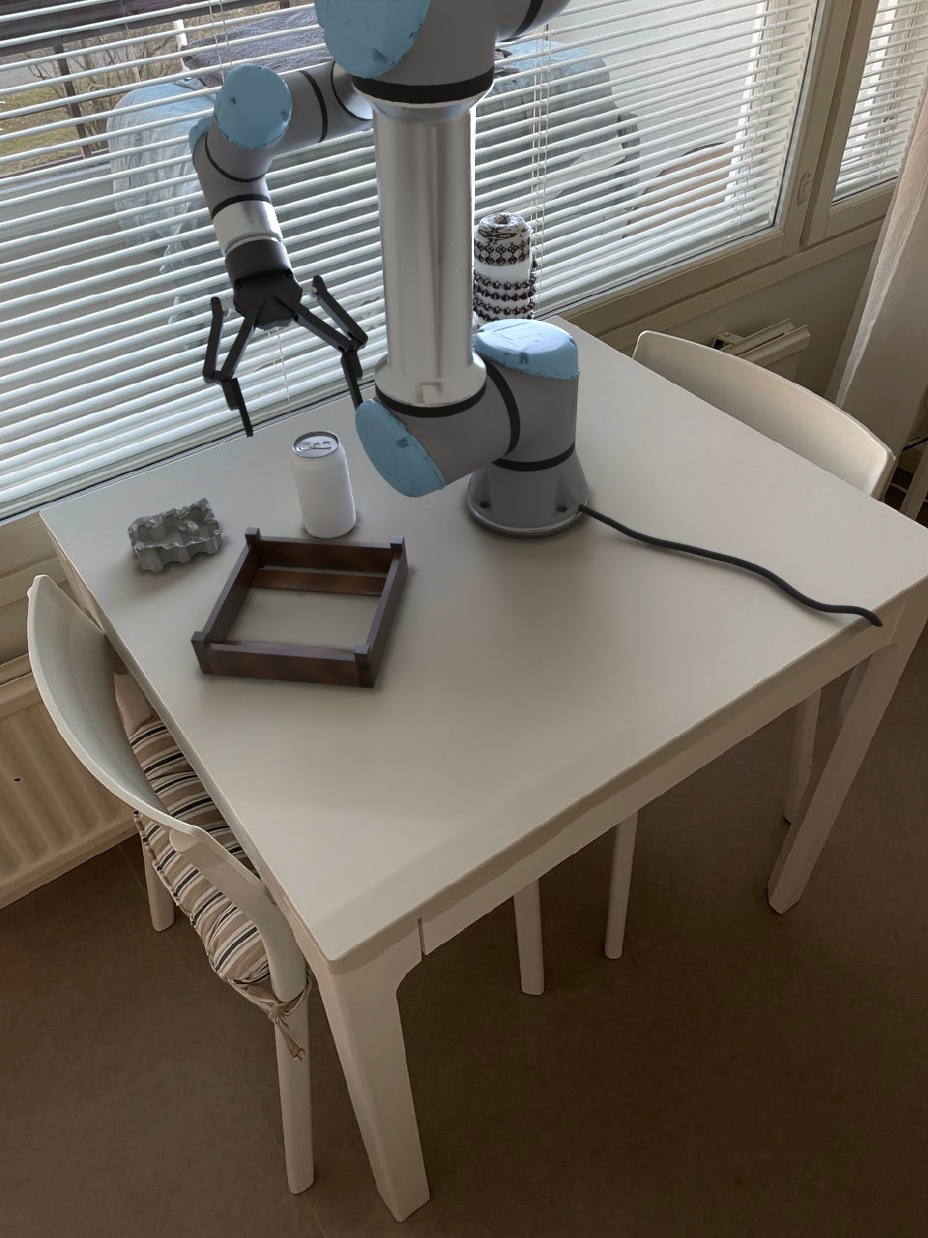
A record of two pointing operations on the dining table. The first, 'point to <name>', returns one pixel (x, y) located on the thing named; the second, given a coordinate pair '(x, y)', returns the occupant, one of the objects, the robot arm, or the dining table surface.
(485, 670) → the dining table surface
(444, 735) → the dining table surface
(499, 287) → the white patterned cylinder
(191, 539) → the egg carton
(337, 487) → the can
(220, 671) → the crate
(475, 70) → the robot arm
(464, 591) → the dining table surface
